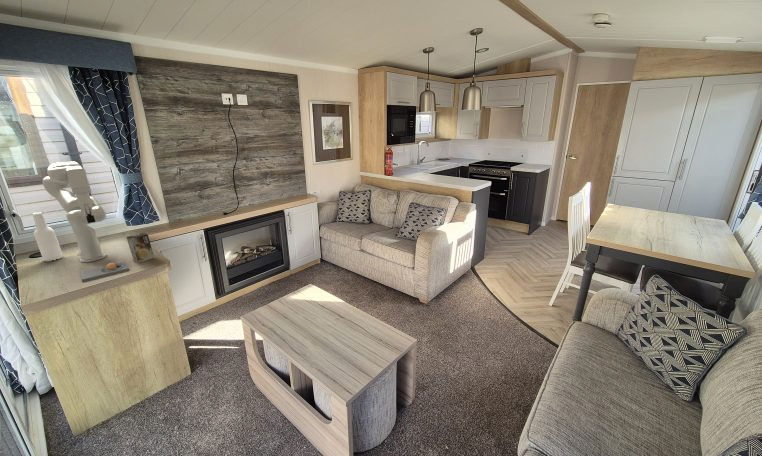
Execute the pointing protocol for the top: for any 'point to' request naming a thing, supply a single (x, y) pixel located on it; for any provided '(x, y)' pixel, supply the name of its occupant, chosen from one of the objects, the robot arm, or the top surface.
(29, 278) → the top surface
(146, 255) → the coffee box
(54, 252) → the alcohol
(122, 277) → the top surface
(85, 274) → the deck
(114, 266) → the ball
